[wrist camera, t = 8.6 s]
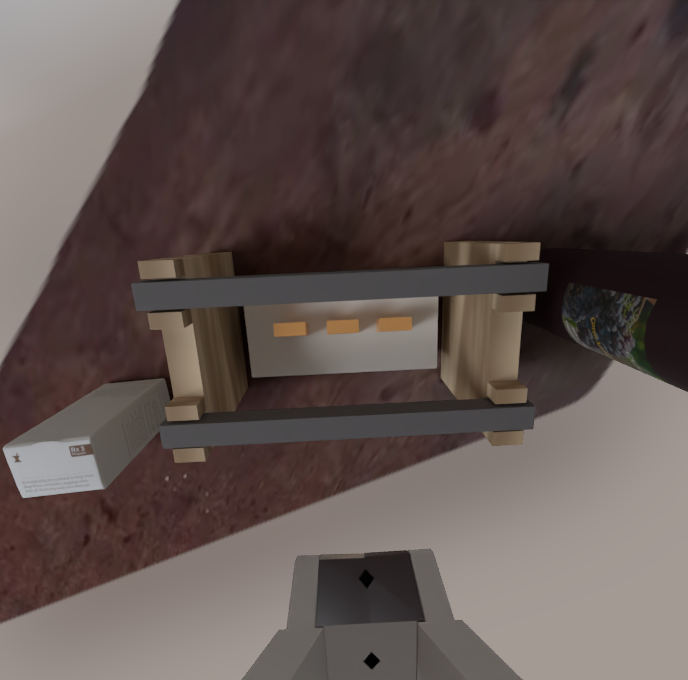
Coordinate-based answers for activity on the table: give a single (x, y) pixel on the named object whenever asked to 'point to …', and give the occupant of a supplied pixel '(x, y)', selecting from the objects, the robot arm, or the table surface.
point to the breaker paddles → (342, 326)
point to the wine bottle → (619, 307)
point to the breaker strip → (342, 337)
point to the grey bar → (347, 422)
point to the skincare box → (88, 439)
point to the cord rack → (456, 358)
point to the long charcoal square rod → (340, 286)
